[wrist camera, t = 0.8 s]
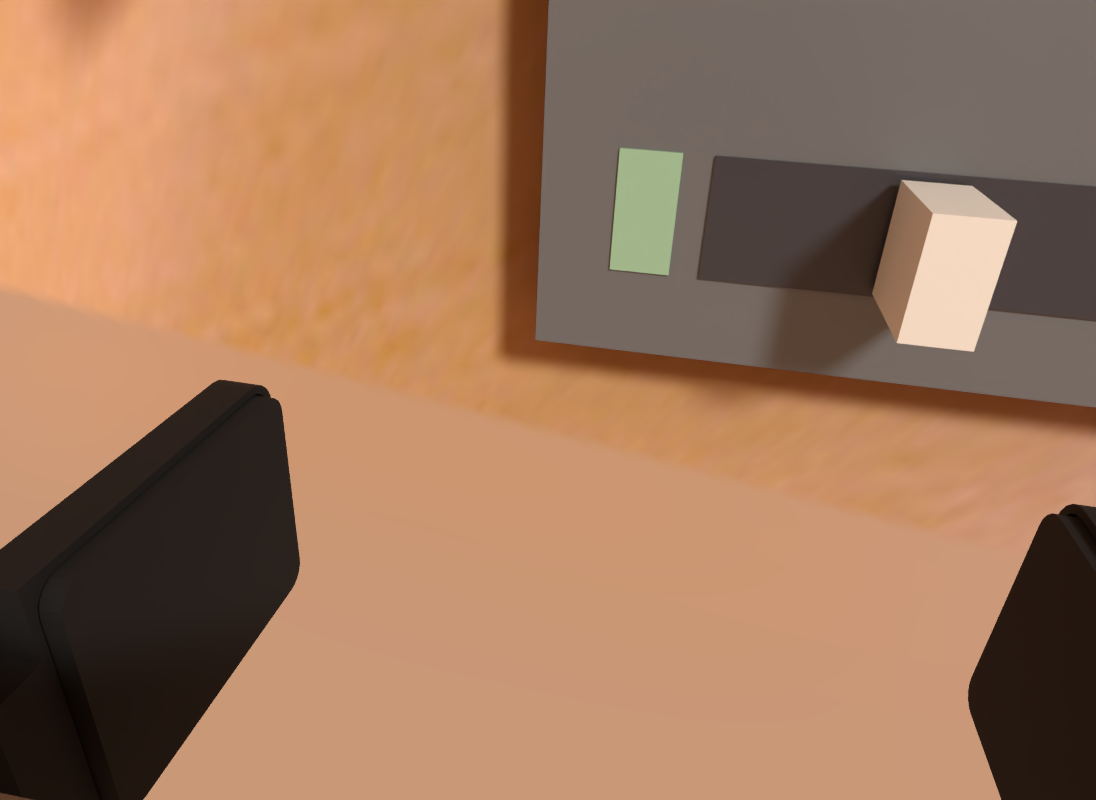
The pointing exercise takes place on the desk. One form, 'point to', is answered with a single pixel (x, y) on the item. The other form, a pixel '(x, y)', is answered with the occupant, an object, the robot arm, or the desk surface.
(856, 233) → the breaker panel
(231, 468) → the robot arm
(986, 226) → the block
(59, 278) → the desk surface
